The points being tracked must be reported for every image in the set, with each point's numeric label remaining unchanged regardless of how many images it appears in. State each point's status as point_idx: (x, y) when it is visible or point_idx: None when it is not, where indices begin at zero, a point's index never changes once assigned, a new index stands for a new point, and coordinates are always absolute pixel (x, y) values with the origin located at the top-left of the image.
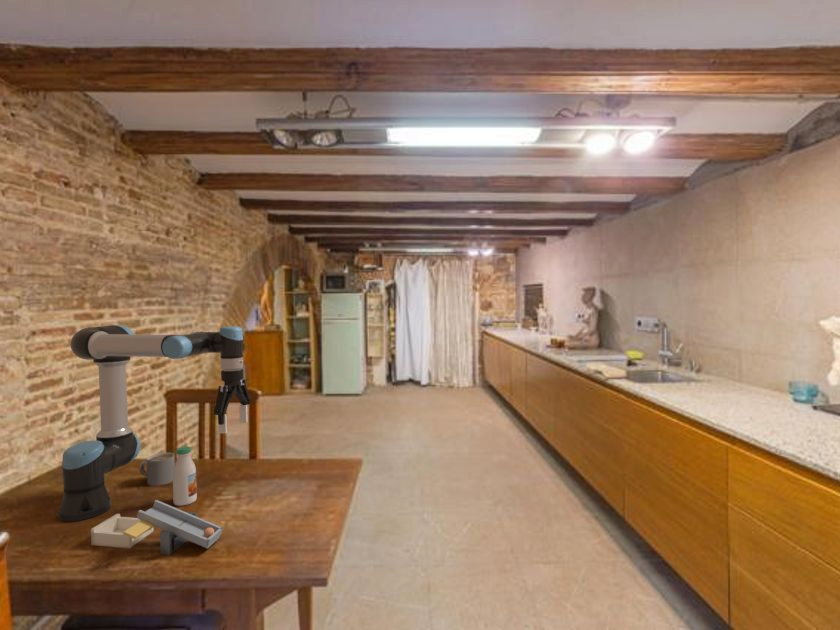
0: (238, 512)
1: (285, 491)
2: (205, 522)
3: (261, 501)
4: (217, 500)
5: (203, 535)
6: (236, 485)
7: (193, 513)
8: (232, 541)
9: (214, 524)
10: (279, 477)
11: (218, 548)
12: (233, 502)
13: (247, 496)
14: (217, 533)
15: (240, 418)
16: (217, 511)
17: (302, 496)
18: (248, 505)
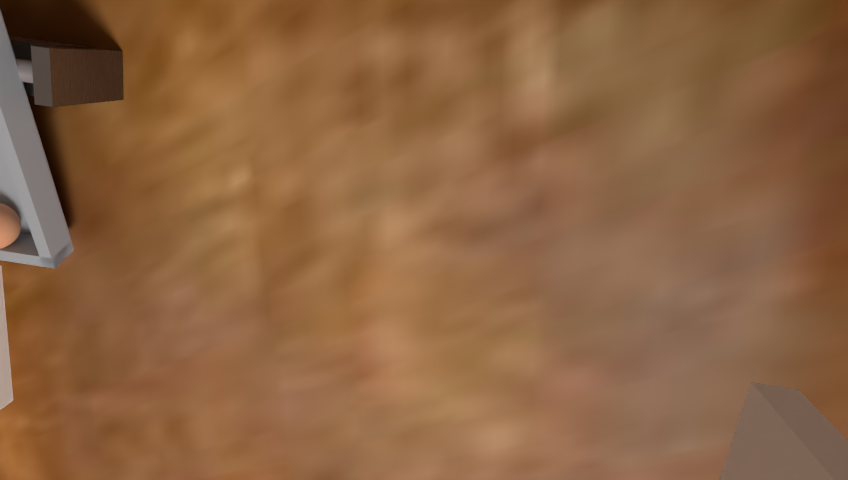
0: (338, 216)
1: (593, 378)
2: (16, 188)
3: (468, 290)
4: (483, 25)
5: (2, 193)
6: (716, 48)
7: (36, 93)
8: (84, 294)
9: (40, 228)
10: (819, 291)
11: None
12: (456, 139)
13: (535, 190)
14: (13, 259)
15: (791, 455)
16: (343, 95)
17: (524, 472)
18: (419, 238)
